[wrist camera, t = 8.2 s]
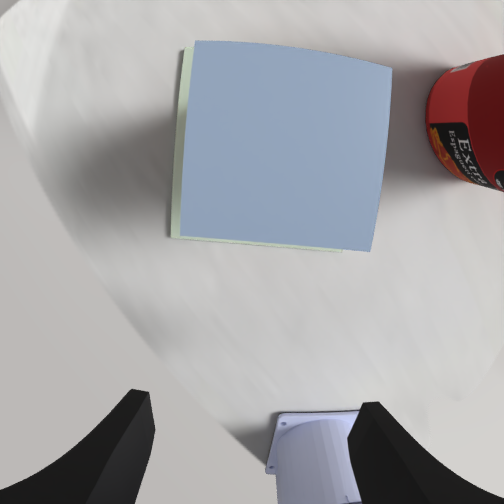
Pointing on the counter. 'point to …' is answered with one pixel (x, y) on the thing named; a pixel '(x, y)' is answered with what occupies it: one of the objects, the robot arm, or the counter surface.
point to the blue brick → (284, 145)
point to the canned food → (470, 121)
